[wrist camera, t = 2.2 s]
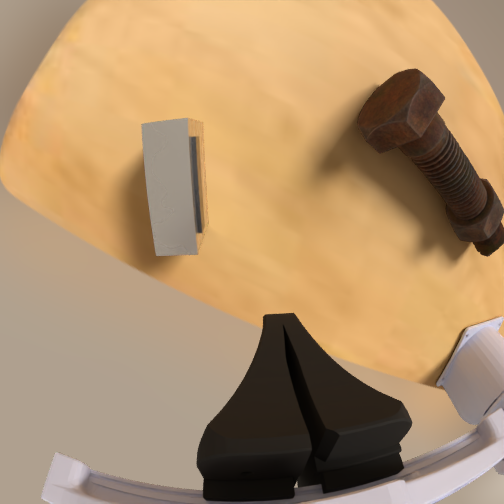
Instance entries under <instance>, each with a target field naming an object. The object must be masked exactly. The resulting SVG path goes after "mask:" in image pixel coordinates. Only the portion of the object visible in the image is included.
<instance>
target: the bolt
mask: <svg viewBox="0 0 504 504" xmlns="http://www.w3.org/2000/svg"><path fill="white" fill-rule="evenodd" d="M444 100H445V97H444V96H443V94H442V93H441V92H440V90H439V89H438V88H437V87H436V86H435V84H434V83H433V82H432V81H431V80H430V79H429V78H428V77H427V76H426V75H425V74H423V73H422V72H421V71H419V70H418V69H408V70H404V71H401V72H398V73H396V74H394V75H393V76H392V77H390V78H389V79H388V80H387V81H386V82H384V83H383V84H382V85H381V86H380V87H379V88H378V89H377V90H376V91H375V92H374V93H373V94H372V95H371V97H370V98H369V99H368V100H367V102H366V103H365V105H364V107H363V109H362V111H361V113H360V116H359V119H358V122H357V123H358V127H359V130H360V132H361V133H362V135H363V137H364V138H365V140H366V141H367V142H368V143H369V144H370V145H371V146H372V147H373V148H374V149H375V150H376V151H377V152H378V153H379V154H380V153H383V152H385V151H388V150H391V149H393V148H396V147H399V148H400V149H401V151H402V152H403V153H404V154H405V155H407V156H409V157H410V158H411V159H412V161H413V162H414V163H415V164H416V165H417V167H418V168H419V169H420V170H421V171H422V172H423V173H424V175H425V176H426V177H427V178H428V180H429V181H430V182H431V184H432V185H433V186H434V187H435V189H436V190H437V191H438V192H439V194H440V195H441V197H442V198H443V199H444V200H445V202H446V203H447V207H446V212H447V215H448V218H449V220H450V223H451V225H452V227H453V230H454V232H455V233H456V235H457V236H458V238H459V239H460V240H463V241H468V242H473V244H474V245H475V248H476V249H477V251H478V252H480V254H481V255H484V256H487V257H488V256H490V255H491V254H492V253H493V252H495V251H496V250H497V249H499V247H500V246H501V245H503V244H504V227H503V225H502V223H501V220H502V217H503V214H504V209H503V206H502V204H501V202H500V200H499V198H498V196H497V194H496V193H495V191H494V189H493V188H492V186H491V184H490V183H489V182H488V180H487V179H481V178H479V176H478V174H477V173H476V171H475V170H474V168H473V166H472V164H471V163H470V161H469V159H468V158H467V157H466V155H465V154H464V152H463V151H462V149H461V147H460V146H459V144H458V142H457V141H456V139H455V138H454V137H453V135H452V134H451V132H450V131H449V130H448V128H447V127H446V125H445V122H444V121H443V119H442V118H441V116H440V115H439V114H438V112H437V111H438V110H439V108H440V106H441V105H442V103H443V101H444Z"/></svg>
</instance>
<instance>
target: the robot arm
mask: <svg viewBox="0 0 504 504" xmlns="http://www.w3.org/2000/svg"><path fill="white" fill-rule="evenodd" d="M503 319H504V318H503V317H502V316H501V317H498V318H495V319H492V320H489V321H486V322H483V323H480V324H477V325H474V326H470V327H467V328H466V329H465V331H464V333H463V335H462V337H461V339H460V341H459V343H458V345H457V347H456V349H455V351H454V353H453V355H452V357H451V359H450V360H449V362H448V364H447V366H446V368H445V369H444V371H443V373H442V375H441V376H440V378H439V380H438V381H437V383H436V385H437V386H441V385H442V386H443V387H444V389H445V391H446V392H447V394H448V396H449V398H450V399H451V401H452V403H453V404H454V406H455V408H456V410H457V412H458V413H459V415H460V417H461V418H462V419H463V420H464V421H466V422H468V423H469V424H473V425H477V424H479V425H478V426H477V428H475V429H473V430H472V431H470V432H468V433H466V434H464V435H462V436H461V437H459V438H457V439H455V440H453V441H451V442H449V443H447V444H445V445H443V446H441V447H438V448H436V449H434V450H432V451H430V452H427V453H425V454H423V455H420V456H418V457H415V458H413V459H410V460H407V461H405V462H402V460H401V457H400V454H399V452H401V446H400V444H399V442H400V441H401V440H402V439H403V437H404V436H405V435H406V434H407V433H408V431H409V430H410V428H411V426H412V420H411V418H410V416H409V414H408V412H407V410H406V408H405V407H404V405H403V403H402V402H401V401H399V400H397V399H394V398H392V397H390V396H388V395H385V394H383V393H381V392H379V391H377V390H375V389H373V388H372V387H370V386H368V385H366V384H365V383H363V382H361V381H360V380H359V379H357V378H356V377H354V376H352V375H351V374H350V373H348V372H347V371H346V370H344V369H343V368H342V367H341V366H340V365H339V364H337V363H336V362H335V361H334V360H333V359H332V358H331V357H330V356H329V355H328V354H327V353H326V352H325V351H324V350H323V349H322V348H321V347H320V346H319V345H318V343H317V342H316V341H315V340H314V339H313V338H312V336H311V335H310V334H309V333H308V332H307V330H306V329H305V328H304V326H303V325H302V324H301V322H300V321H299V319H298V318H297V316H296V315H295V314H294V313H285V314H266V315H265V316H263V330H262V335H261V338H260V342H259V345H258V348H257V351H256V353H255V356H254V358H253V361H252V363H251V365H250V367H249V369H248V371H247V373H246V375H245V377H244V379H243V381H242V382H241V384H240V385H239V387H238V388H237V390H236V392H235V393H234V395H233V396H232V397H231V399H230V400H229V401H228V402H227V404H226V405H225V406H224V407H223V409H222V410H221V411H220V412H219V413H218V414H217V415H216V416H215V417H214V419H213V420H212V421H211V422H210V423H209V424H208V425H207V427H206V429H205V431H204V434H203V436H202V438H201V441H200V444H199V448H198V452H197V468H198V469H199V471H200V473H201V474H202V476H203V478H204V483H203V490H192V489H182V488H173V487H166V486H160V485H154V484H148V483H143V482H138V481H133V480H129V479H124V478H120V477H116V476H112V475H109V474H105V473H102V472H98V471H95V470H92V469H90V468H89V466H87V465H86V464H85V463H83V462H82V461H80V460H78V459H75V458H72V457H69V456H67V455H64V454H62V453H59V452H56V453H55V455H54V458H53V460H52V463H51V466H50V469H49V472H48V475H47V478H46V481H45V485H44V488H43V491H42V495H41V498H42V499H43V500H45V501H47V502H49V503H50V504H434V503H436V502H438V501H440V500H442V499H444V498H446V497H447V496H449V495H451V494H453V493H454V492H456V491H458V490H459V489H461V488H463V487H464V486H466V485H468V484H469V483H471V482H472V481H474V480H475V479H477V478H478V477H479V476H481V475H483V474H484V473H485V472H487V471H488V470H490V469H491V468H492V467H494V468H495V469H496V471H497V472H498V474H501V475H504V338H503V337H502V336H501V334H500V333H499V332H498V330H499V328H500V326H501V324H502V322H503ZM296 482H297V483H298V488H294V486H295V484H296Z"/></svg>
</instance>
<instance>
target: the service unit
mask: <svg viewBox="0 0 504 504" xmlns="http://www.w3.org/2000/svg"><path fill="white" fill-rule="evenodd" d="M142 141H143V155H144V167H145V178H146V187H147V196H148V204H149V212H150V220H151V227H152V233H153V240H154V246H155V252H156V256H171V255H198V253H199V250H200V247H201V244H202V241H203V238H204V235H205V232H206V229H207V226H208V224H209V221H208V208H207V193H206V176H205V158H204V135H203V122H200V121H197V120H193V119H190V118H182V119H174V120H166V121H158V122H151V123H145V124H142Z"/></svg>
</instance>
